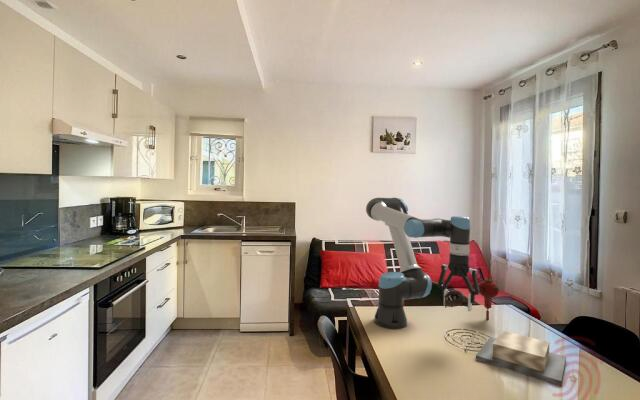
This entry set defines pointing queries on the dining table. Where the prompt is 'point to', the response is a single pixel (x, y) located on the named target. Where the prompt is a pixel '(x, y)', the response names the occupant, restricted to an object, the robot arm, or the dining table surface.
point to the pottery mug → (456, 299)
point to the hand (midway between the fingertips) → (457, 307)
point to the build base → (547, 375)
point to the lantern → (488, 293)
